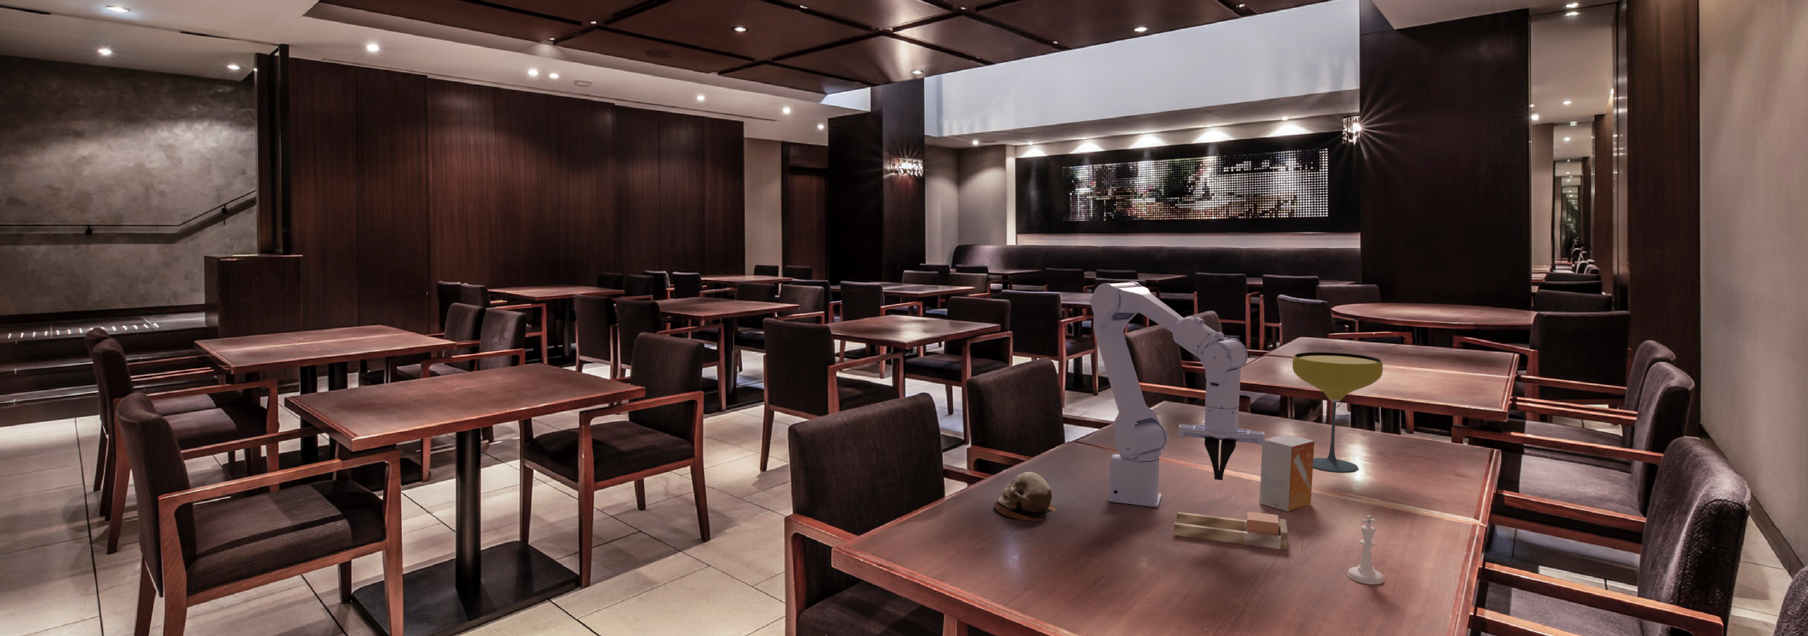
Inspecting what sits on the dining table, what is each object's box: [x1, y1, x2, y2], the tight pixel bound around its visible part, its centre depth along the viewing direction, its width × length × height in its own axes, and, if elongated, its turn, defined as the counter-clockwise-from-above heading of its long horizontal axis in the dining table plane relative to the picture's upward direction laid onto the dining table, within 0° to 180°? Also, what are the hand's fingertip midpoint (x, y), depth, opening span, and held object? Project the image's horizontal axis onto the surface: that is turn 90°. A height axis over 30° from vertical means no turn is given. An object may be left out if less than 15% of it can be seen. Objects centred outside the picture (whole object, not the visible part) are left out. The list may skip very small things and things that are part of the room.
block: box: [1246, 510, 1279, 535], centre depth 143 cm, size 5×4×4 cm
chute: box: [1173, 511, 1289, 551], centre depth 145 cm, size 18×7×3 cm, turn 67°
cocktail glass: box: [1292, 351, 1384, 473], centre depth 186 cm, size 18×18×25 cm
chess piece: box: [1347, 514, 1384, 585], centre depth 127 cm, size 5×5×10 cm
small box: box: [1259, 433, 1315, 513], centre depth 161 cm, size 8×6×13 cm
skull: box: [994, 471, 1057, 521], centre depth 159 cm, size 12×10×10 cm
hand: (1218, 478), depth 150 cm, fingers closed
